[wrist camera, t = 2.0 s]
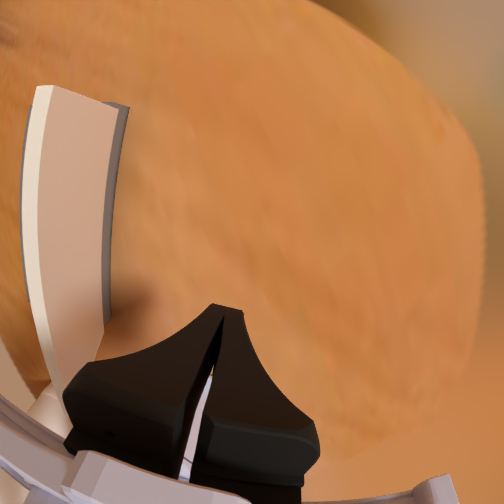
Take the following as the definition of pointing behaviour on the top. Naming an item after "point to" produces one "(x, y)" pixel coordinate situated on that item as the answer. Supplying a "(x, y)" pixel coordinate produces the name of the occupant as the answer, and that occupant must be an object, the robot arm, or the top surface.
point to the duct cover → (66, 225)
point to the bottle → (51, 416)
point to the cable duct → (107, 205)
